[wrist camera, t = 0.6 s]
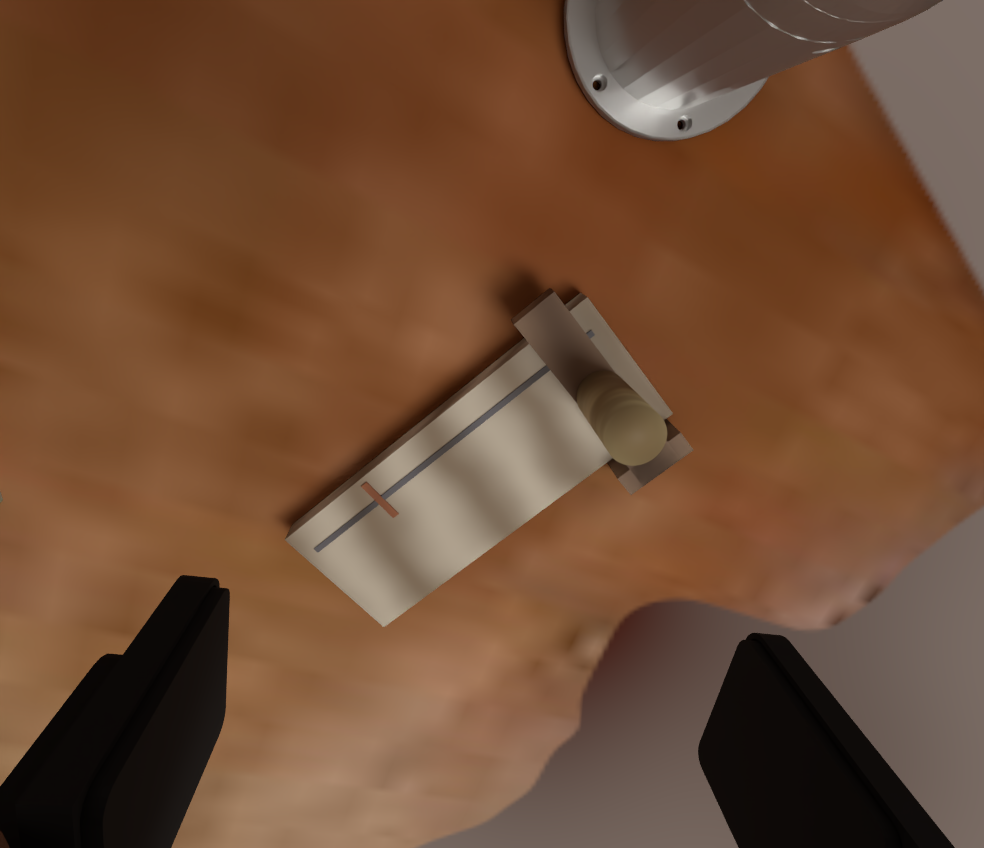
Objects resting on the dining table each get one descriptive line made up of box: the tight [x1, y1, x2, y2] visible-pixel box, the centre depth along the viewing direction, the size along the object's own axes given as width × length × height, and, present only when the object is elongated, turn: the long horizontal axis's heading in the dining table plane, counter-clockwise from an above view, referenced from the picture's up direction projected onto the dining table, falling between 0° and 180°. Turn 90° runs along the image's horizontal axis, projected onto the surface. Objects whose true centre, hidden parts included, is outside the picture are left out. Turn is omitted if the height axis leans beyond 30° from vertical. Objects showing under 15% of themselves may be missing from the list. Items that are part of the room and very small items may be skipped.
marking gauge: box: [511, 288, 693, 495], centre depth 34 cm, size 5×14×10 cm, turn 39°
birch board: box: [285, 293, 673, 627], centre depth 40 cm, size 26×10×2 cm, turn 129°
